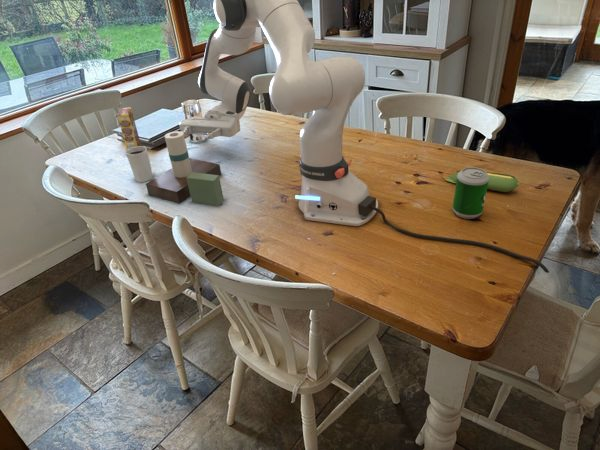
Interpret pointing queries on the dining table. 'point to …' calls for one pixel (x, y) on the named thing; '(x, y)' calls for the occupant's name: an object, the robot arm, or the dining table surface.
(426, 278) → the dining table surface
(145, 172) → the white cup
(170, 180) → the chopping block
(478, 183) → the soda can
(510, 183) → the edible corn
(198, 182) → the green block
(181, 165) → the paper roll
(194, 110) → the beer glass
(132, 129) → the candy box
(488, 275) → the dining table surface
